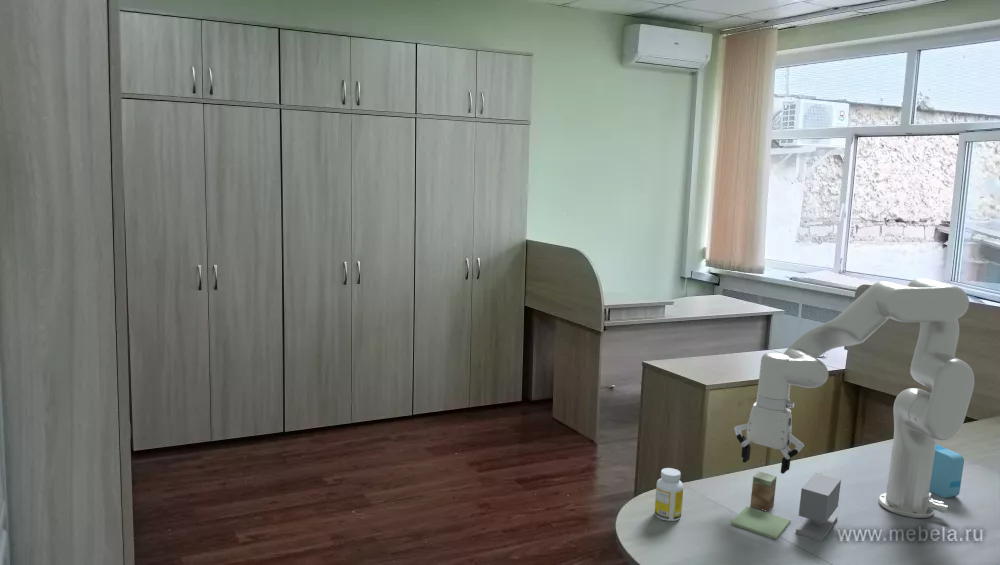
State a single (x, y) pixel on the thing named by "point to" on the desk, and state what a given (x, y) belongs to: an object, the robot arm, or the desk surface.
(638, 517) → the desk surface
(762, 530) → the mat
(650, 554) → the desk surface
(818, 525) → the mounted unit
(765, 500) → the brown and green block
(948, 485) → the data package
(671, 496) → the pill bottle
